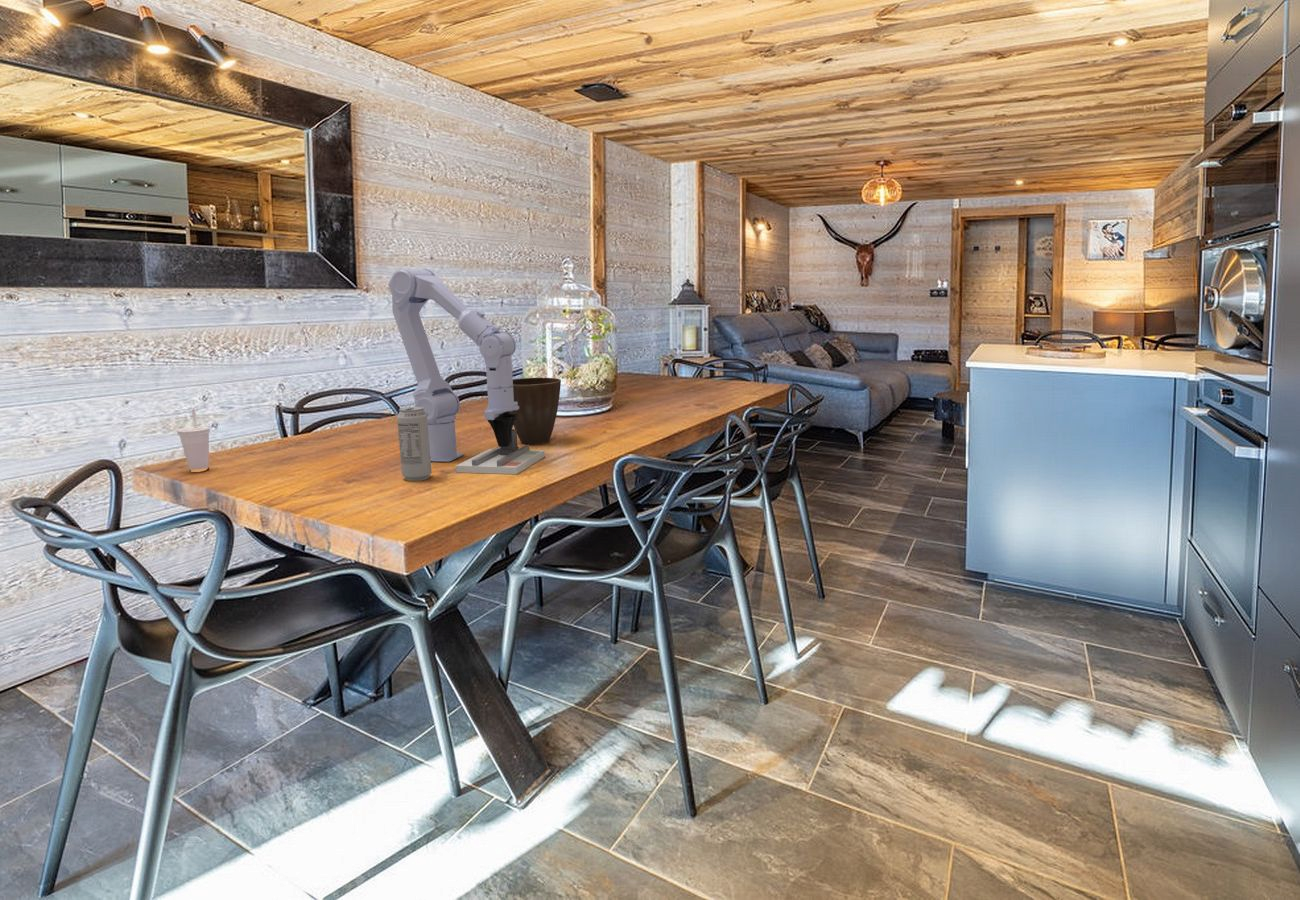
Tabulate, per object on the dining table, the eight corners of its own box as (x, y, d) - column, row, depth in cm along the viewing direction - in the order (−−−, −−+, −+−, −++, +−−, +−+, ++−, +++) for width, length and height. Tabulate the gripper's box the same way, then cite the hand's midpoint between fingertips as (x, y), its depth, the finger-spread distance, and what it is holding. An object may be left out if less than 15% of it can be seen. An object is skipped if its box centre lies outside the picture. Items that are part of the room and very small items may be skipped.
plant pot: (538, 450, 189) (534, 385, 186) (493, 444, 197) (489, 382, 193) (575, 439, 201) (572, 379, 198) (531, 434, 209) (528, 376, 206)
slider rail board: (456, 472, 167) (455, 460, 166) (489, 455, 184) (489, 444, 183) (516, 474, 164) (515, 462, 163) (544, 456, 181) (544, 445, 181)
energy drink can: (437, 476, 164) (432, 406, 161) (418, 482, 158) (412, 411, 155) (415, 473, 166) (410, 405, 163) (396, 480, 161) (389, 409, 158)
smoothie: (221, 468, 175) (213, 408, 172) (195, 475, 169) (186, 412, 166) (203, 466, 178) (194, 407, 175) (176, 472, 172) (167, 411, 169)
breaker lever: (500, 455, 176) (498, 431, 175) (506, 451, 180) (505, 428, 179) (512, 455, 176) (510, 432, 175) (518, 451, 180) (517, 428, 178)
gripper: (504, 391, 164) (507, 453, 167) (528, 383, 178) (531, 440, 181) (473, 391, 165) (477, 452, 168) (500, 382, 179) (503, 439, 182)
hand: (503, 446), depth 175 cm, fingers closed
